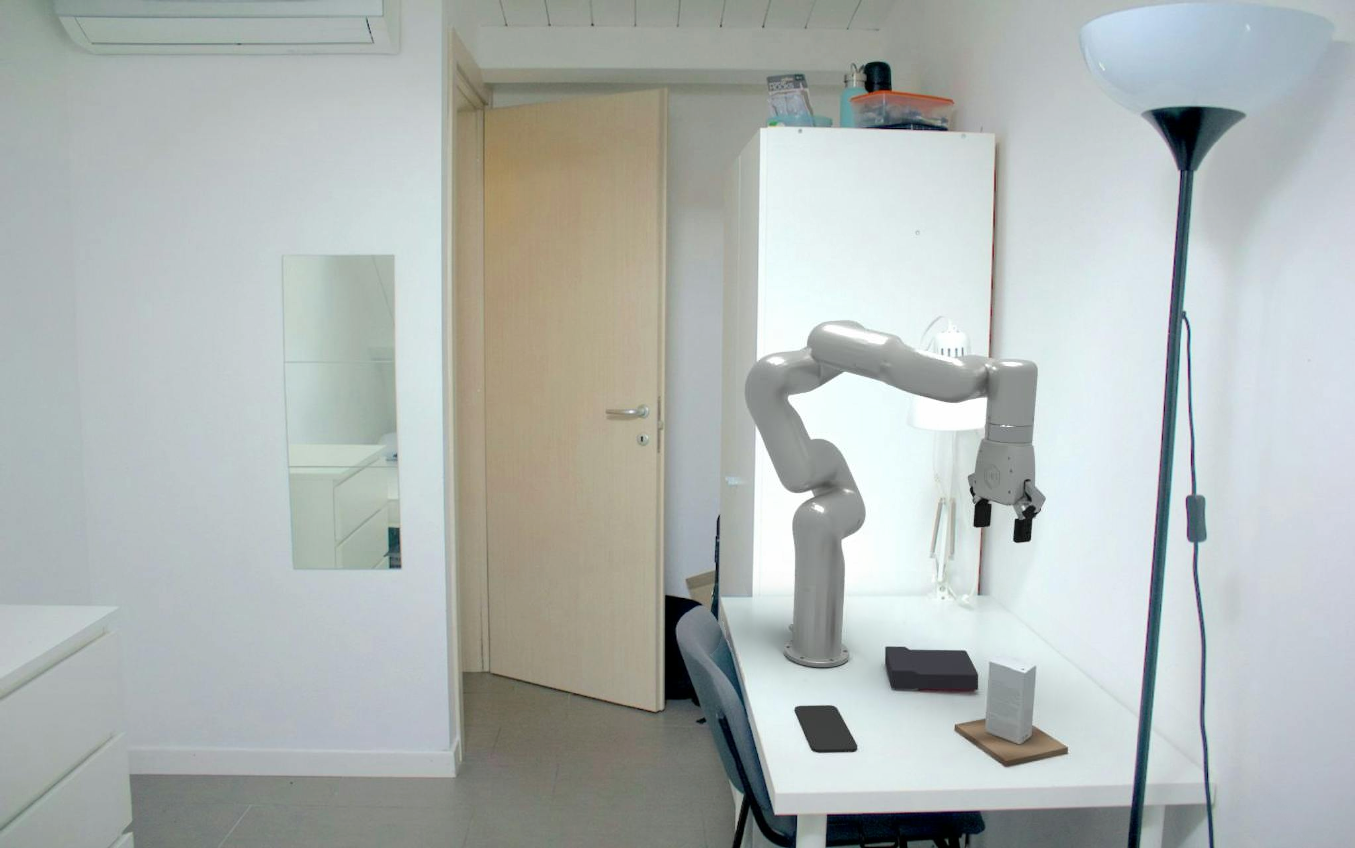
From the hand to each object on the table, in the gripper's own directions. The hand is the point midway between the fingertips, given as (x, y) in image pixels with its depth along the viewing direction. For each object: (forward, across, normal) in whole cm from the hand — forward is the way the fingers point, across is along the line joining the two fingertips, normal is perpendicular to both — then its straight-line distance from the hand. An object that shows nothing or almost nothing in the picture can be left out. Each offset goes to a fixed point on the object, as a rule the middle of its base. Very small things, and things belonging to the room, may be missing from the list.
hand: (1001, 534), depth 152 cm
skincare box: (+30, +12, -6) cm, 32 cm away
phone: (+31, -2, -32) cm, 44 cm away
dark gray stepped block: (+26, -11, -4) cm, 29 cm away
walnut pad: (+30, +12, -6) cm, 33 cm away
